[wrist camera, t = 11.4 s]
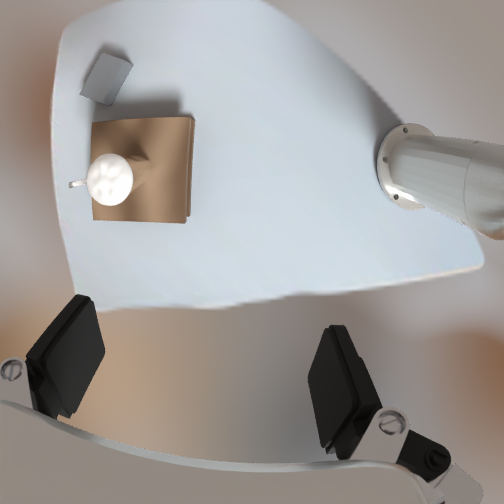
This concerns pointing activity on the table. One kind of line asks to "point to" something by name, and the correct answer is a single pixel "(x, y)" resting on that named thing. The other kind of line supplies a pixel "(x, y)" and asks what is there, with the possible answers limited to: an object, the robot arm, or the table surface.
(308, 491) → the robot arm
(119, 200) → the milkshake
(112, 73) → the block
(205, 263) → the table surface
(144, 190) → the stand
